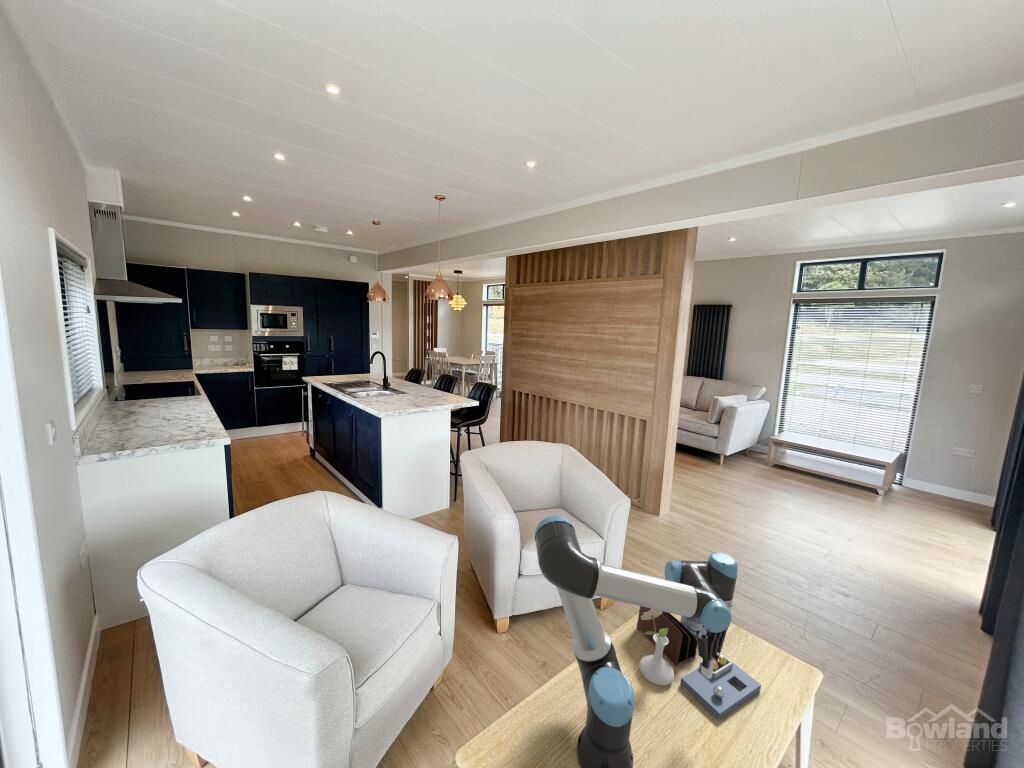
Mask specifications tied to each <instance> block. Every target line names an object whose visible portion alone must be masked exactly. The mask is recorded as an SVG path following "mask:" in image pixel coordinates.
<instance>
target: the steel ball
mask: <svg viewBox="0 0 1024 768" xmlns="http://www.w3.org/2000/svg"><path fill="white" fill-rule="evenodd" d="M713 692H714V694H715V696H716V697H718V698H723V697H724V690H723V688H722V687H720V686H715V687H714V689H713Z"/></svg>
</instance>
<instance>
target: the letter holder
mask: <svg viewBox="0 0 1024 768" xmlns="http://www.w3.org/2000/svg"><path fill="white" fill-rule="evenodd" d="M650 609H651V608H647V607H642V606H639V610H638V616H637V617H638V618H637V623H636V629H637V630H638V631H639V632H640V633H641V634H642V635H643V634H644V633H645V632H648V631H652V632H655V629H656V633H659V630H660V629H663V628H669V629H668V633H667V635H666V637H667V638H668V640H669V643H668V644H667V645H665V647H664V649H663V653H662V655H664V656H665V658H666V659H668V660H669V661H670V662H671V664H673V665H674V666H675V668H677V667H679V666H681V665H683V664H686V663H688V662H689V661H690V662H691V660H694V659H696V657H697V653H698V637H696V635H693V634H692V633H691V632H690V631H689V630H688V629H687V628H686V627H685V626H684V625H683V624H682V623H681V620H678V619H677V618H676V617H675V616H674V614H673V615H672V613H668V612H664V611H662V614H661V615H659V616H658V617H656V618H654V621H653V619H649V620H643V619H641V617H640V616H642V615H644V614H643V613H644V612H648V611H650ZM653 610H654V609H653ZM654 622H655V629H654ZM656 633H654V634H656ZM654 634H652V635H647V634H644V635H643V636H645V638H646V639H648V641H650V642H651V644H653V645H654V647H656V643H655V641H654V639H653V635H654Z"/></svg>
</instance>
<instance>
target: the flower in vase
mask: <svg viewBox="0 0 1024 768" xmlns="http://www.w3.org/2000/svg"><path fill="white" fill-rule="evenodd" d="M643 614H644V615H642V616H640V617H641V619H643V620H649V619H653V621H654V618H656V617H658V616H659V615H661V614H662V611H660V610H655V609H654V610H653V609H650V611H648V612H644V613H643ZM654 629H655V622H654ZM668 629H669V628H663V629H660V630H659V633H656V629H655V632H652V631H648V632H645V633H644V634H647V635H652V634H654V633H656V634H654V635H653V639H654V641H655V643H656V646H655V652H654V654H648V655H644V656H643V657H642V658H641V659H640V661H639V665H638V667H639V670H640V672H641V674H642V675H643V677H644V678H645V679H646V680H647V681H649V682H650V683H652V684H655V685H657V686H667V685H669V684H671V683H672V682H673V681H674V680H675V671H674V669H673V666H672V665H671V664H670V662H669V661H667V660H666V659H665V658H663V649H664V647H665V645H667V644H668V643H669V640H668V638H667V637H666V635H667V633H668ZM644 634H642V635H643V636H645V635H644Z"/></svg>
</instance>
